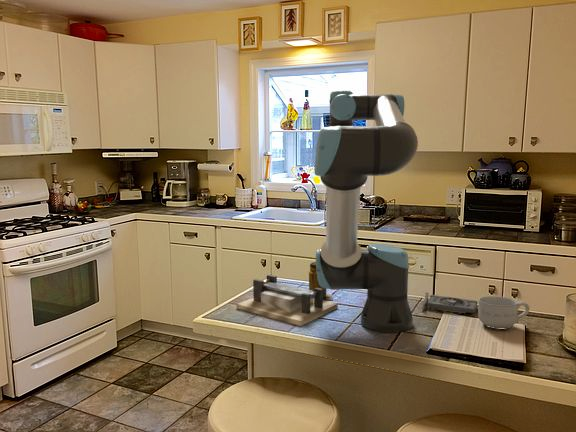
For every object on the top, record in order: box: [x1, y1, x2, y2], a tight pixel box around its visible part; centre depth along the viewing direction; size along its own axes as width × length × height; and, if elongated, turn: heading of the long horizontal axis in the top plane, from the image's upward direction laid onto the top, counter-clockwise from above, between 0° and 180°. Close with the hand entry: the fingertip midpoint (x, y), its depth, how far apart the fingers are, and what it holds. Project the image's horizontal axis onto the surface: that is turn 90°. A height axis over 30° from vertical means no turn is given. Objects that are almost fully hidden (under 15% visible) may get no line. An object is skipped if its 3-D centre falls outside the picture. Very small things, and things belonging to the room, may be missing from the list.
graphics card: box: [421, 292, 478, 314], centre depth 163 cm, size 17×4×12 cm
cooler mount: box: [236, 274, 339, 327], centre depth 165 cm, size 26×20×8 cm
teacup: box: [477, 295, 530, 329], centre depth 148 cm, size 14×11×8 cm
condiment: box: [308, 261, 333, 301], centre depth 176 cm, size 7×8×12 cm
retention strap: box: [263, 279, 319, 299], centre depth 164 cm, size 21×5×2 cm, turn 52°
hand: (340, 210), depth 171 cm, fingers closed
